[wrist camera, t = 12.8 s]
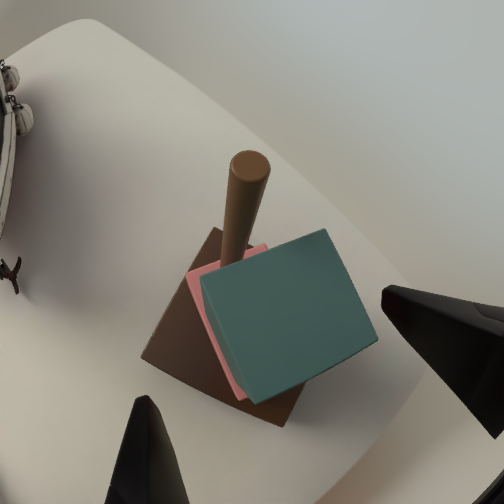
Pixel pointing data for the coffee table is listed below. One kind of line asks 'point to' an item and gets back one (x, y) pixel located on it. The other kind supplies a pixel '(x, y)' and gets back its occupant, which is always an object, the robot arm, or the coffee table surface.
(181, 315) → the walnut block
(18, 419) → the coffee table surface
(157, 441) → the robot arm
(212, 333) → the peg stacking toy
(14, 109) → the toy boat
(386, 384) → the coffee table surface
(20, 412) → the coffee table surface
